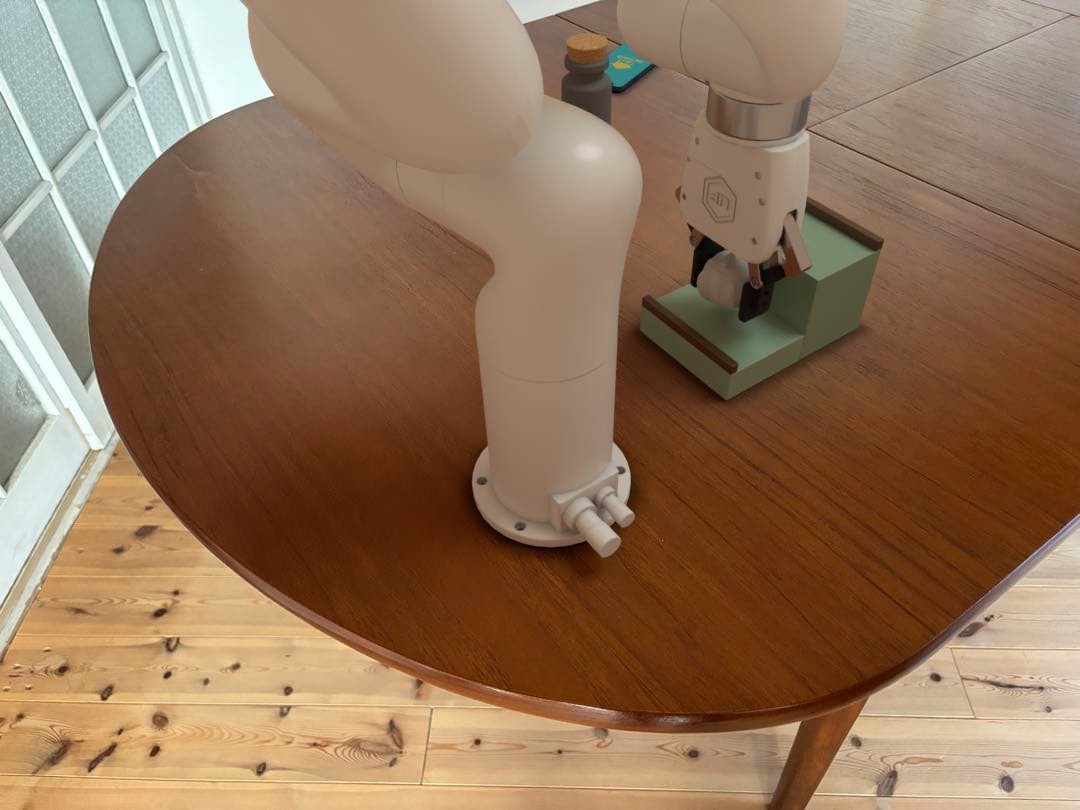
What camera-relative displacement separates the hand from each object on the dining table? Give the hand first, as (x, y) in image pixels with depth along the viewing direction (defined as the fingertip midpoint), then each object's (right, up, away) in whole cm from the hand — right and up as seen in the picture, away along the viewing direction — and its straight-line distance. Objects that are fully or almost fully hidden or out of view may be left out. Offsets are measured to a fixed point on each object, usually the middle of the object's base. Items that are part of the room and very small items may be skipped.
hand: (728, 296), depth 77 cm
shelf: (+3, -2, +5) cm, 7 cm away
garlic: (0, 0, 0) cm, 1 cm away
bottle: (-11, +20, +29) cm, 37 cm away
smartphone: (-5, +39, +48) cm, 62 cm away
